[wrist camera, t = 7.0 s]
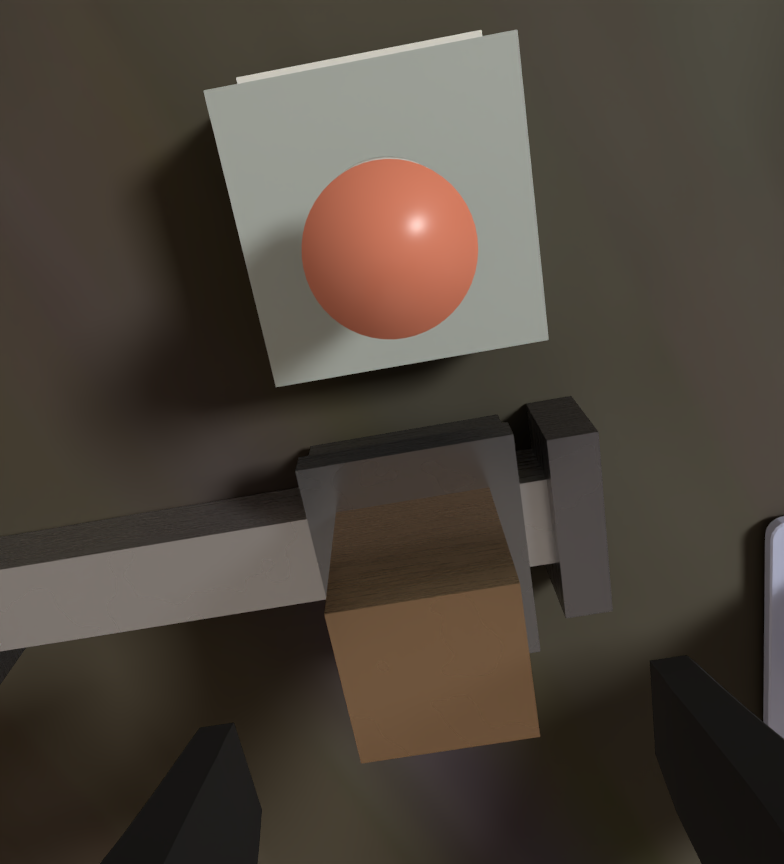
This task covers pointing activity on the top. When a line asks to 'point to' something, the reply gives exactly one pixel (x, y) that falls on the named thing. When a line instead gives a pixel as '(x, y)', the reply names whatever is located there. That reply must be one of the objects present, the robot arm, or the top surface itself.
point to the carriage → (426, 585)
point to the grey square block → (377, 137)
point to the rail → (276, 551)
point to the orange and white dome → (389, 248)
